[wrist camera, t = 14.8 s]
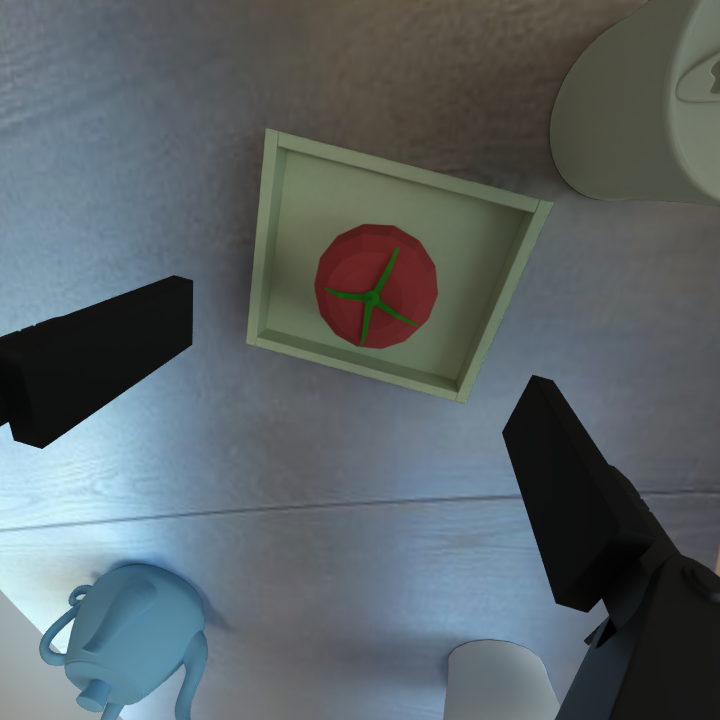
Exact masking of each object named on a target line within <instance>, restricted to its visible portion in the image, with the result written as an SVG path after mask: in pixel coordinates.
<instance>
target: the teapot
mask: <svg viewBox="0 0 720 720" xmlns="http://www.w3.org/2000/svg"><path fill="white" fill-rule="evenodd" d="M82 594H86V595H85V596H84V598H83V599H82V600H77V599H76V597H77V596H79V595H82ZM69 604H70V605H71V606H74V607H72V608H71V609H70V610H69V611H68V612H66V613H65V614H64V615H63V616H62V617H60V618H59V619H58V620H57V621H56V622H55V623H54V624H53V625H52V626H51V627H50V628H49V629H48V630H47V631H46V633H45V634H44V636H43V637H42V639H41V642H40V646H39V651H40V655H41V657H42V659H43V660H44V661H45V662H46V663H47V664H49V665H54V666H61V665H65V673H66V676H67V678H68V679H69V680H70V681H71V682H72V683H73V684H74V685H75V686H76V687H78V688H79V689H80V690H82V692H81V693H80V695H79V696H78V697H77V698H76V701H77V703H78V704H79V705H80V706H81V707H82V708H84V709H86V710H89V711H92V712H101V711H103V709H104V707H105V705H106V707H105V709H104V712H103V715H102V717H101V720H116V718H117V716H118V715H119V713H120V712H121V710H122V709H123V707H124V706H125V705H130V704H134V703H136V702H139V701H140V700H142V699H143V698H144V697H146V696H147V695H149V694H150V693H151V692H152V691H154V690H155V689H156V688H157V687H158V686H160V685H161V684H162V683H163V682H164V681H166V680H167V679H168V678H169V677H170V676H171V675H172V674H173V673H174V672H175V671H176V670H178V668H179V667H180V666H181V665H182V664H183V663H184V665H185V668H186V675H185V679H184V682H183V685H182V687H181V690H180V692H179V695H178V698H177V701H176V706H175V718H176V720H190V709H191V703H192V699H193V696H194V693H195V691H196V688H197V686H198V684H199V681H200V679H201V677H202V674H203V671H204V669H205V665H206V661H207V656H208V646H207V639H206V637H205V635H204V633H203V632H204V627H205V616H204V610H203V606H202V602H201V599H200V597H199V595H198V594H197V592H196V591H195V590H194V589H193V588H192V587H191V586H190V585H189V584H188V583H187V582H185V581H184V580H183V579H181V578H180V577H178V576H176V575H174V574H173V573H170V572H168V571H166V570H163V569H161V568H157V567H154V566H149V565H141V564H136V565H129V566H125V567H122V568H119V569H116V570H113V571H111V572H109V573H106V574H105V575H103V576H102V577H100V578H99V579H98V580H97V581H96V582H95V583H94V585H93V586H91V585H81V586H79V587H77V588H76V589H75V590H73V592H72V593H71V595H70V597H69ZM75 617H76V618H75ZM74 618H75V620H74V624H73V627H72V631H71V635H70V639H69V644H68V648H67V653H66V654H60V653H55V652H53V651H51V649H50V648H49V645H50V643H51V641H52V639H53V638H54V637H55V636H56V634H57V633H58V632H59V631H60V630H61V629H62V628H63V627H64V626H65V625H67V624H68V623H69V622H70V621H71V620H72V619H74ZM106 702H107V704H106Z"/></svg>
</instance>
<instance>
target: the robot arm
mask: <svg viewBox="0 0 720 720" xmlns="http://www.w3.org/2000/svg"><path fill="white" fill-rule="evenodd" d="M192 334H193V280H190V279H186V278H182V277H179V276H175V275H173V276H171V277H168V278H165V279H162V280H160V281H157V282H154V283H152V284H149V285H146V286H143V287H141V288H138V289H135V290H133V291H130V292H127V293H124V294H122V295H119V296H116V297H114V298H111V299H108V300H105V301H103V302H100V303H97V304H94V305H92V306H89V307H86V308H84V309H81V310H78V311H75V312H73V313H70V314H67V315H65V316H60V317H55V318H51V319H49V320H46V321H43V322H40V323H38V324H36V326H33V325H32V326H29V327H27V328H24V329H21V331H16V332H13V333H10V334H7V335H4V336H2V337H0V426H2V425H4V424H6V423H7V422H9V424H10V428H11V431H12V435H13V438H14V441H17V442H21V443H24V444H27V445H31V446H34V447H37V448H41V449H43V448H44V447H46V446H47V445H49V444H50V443H52V442H53V441H55V440H56V439H57V438H59V437H60V436H62V435H63V434H65V433H66V432H67V431H69V430H70V429H72V428H73V427H75V426H76V425H78V424H79V423H80V422H82V421H83V420H85V419H86V418H88V417H89V416H90V415H92V414H93V413H95V412H96V411H98V410H99V409H100V408H102V407H103V406H105V405H106V404H108V403H109V402H111V401H112V400H113V399H115V398H116V397H118V396H119V395H121V394H122V393H123V392H125V391H126V390H128V389H129V388H131V387H132V386H133V385H135V384H136V383H138V382H139V381H141V380H142V379H144V378H145V377H146V376H148V375H149V374H151V373H152V372H154V371H155V370H156V369H158V368H159V367H161V366H162V365H164V364H165V363H166V362H168V361H169V360H171V359H172V358H174V357H175V356H177V355H178V354H179V353H181V352H182V351H184V350H185V349H187V348H188V347H189V346H191V345H192ZM502 434H503V437H504V440H505V444H506V447H507V450H508V453H509V456H510V459H511V463H512V466H513V469H514V472H515V475H516V479H517V482H518V485H519V488H520V491H521V494H522V498H523V501H524V504H525V507H526V510H527V513H528V517H529V520H530V523H531V526H532V529H533V532H534V536H535V539H536V542H537V545H538V548H539V551H540V555H541V558H542V561H543V564H544V567H545V570H546V574H547V577H548V580H549V583H550V586H551V590H552V593H553V596H554V599H555V602H556V604H560V605H563V606H566V607H570V608H573V609H576V610H580V611H583V612H586V613H588V612H589V611H590V610H591V609H592V608H593V607H594V606H595V605H596V604H597V603H598V601H599V600H600V599H601V598H602V599H603V602H604V604H605V606H606V609H607V611H608V613H609V616H608V617H607V618H606V619H605V620H604V621H603V622H602V623H601V624H600V625H599V626H598V627H597V628H596V629H595V630H594V631H593V632H592V633H591V634H590V635H589V636H588V637H587V638H586V639H585V640H584V642H585V643H586V644H587V645H590V644H591V645H590V647H589V649H588V651H587V654H586V656H585V658H584V660H583V662H582V664H581V666H580V668H579V670H578V672H577V674H576V676H575V678H574V680H573V683H572V685H571V687H570V689H569V691H568V693H567V695H566V697H565V699H564V701H563V703H562V705H561V707H560V709H559V712H558V714H557V716H556V718H555V720H720V577H719V576H718V575H716V574H715V573H714V572H713V571H711V570H710V569H709V568H707V567H706V566H704V565H702V564H701V563H699V562H697V561H695V560H694V559H691V558H688V557H686V556H683V555H681V554H680V552H679V551H678V550H677V548H676V547H675V545H674V544H673V542H672V541H671V539H670V538H669V537H668V535H667V534H666V532H665V531H664V529H663V528H662V526H661V525H660V524H659V522H658V521H657V519H656V518H655V516H654V515H653V513H652V512H649V508H648V506H647V505H646V503H645V502H644V501H643V499H640V497H641V496H640V495H639V493H638V492H637V490H636V489H635V488H634V486H633V485H632V483H631V482H630V481H629V480H628V479H627V478H626V477H625V476H624V475H623V474H622V473H621V472H620V471H619V470H618V469H616V468H615V467H614V466H611V465H608V463H607V462H606V460H605V459H604V457H603V455H602V454H601V452H600V451H599V449H598V448H597V446H596V445H595V443H594V442H593V440H592V439H591V437H590V436H589V434H588V433H587V431H586V430H585V428H584V427H583V425H582V424H581V422H580V421H579V419H578V417H577V416H576V414H575V413H574V411H573V410H572V408H571V407H570V405H569V404H568V402H567V401H566V399H565V398H564V396H563V395H562V393H561V392H560V390H559V389H558V387H557V386H556V384H555V383H554V381H553V380H550V379H546V378H543V377H539V376H535V375H532V377H531V378H530V380H529V382H528V384H527V386H526V388H525V390H524V392H523V394H522V396H521V397H520V399H519V401H518V403H517V405H516V407H515V409H514V411H513V413H512V415H511V416H510V418H509V420H508V422H507V424H506V426H505V428H504V430H503V432H502Z"/></svg>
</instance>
